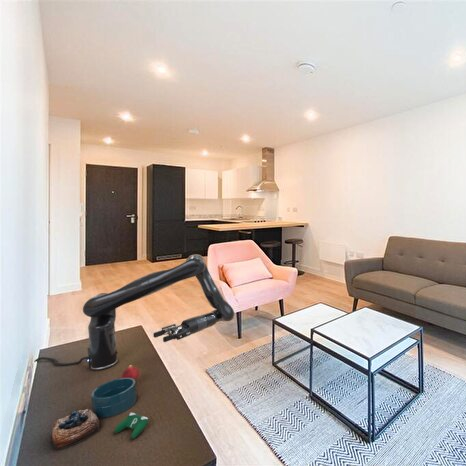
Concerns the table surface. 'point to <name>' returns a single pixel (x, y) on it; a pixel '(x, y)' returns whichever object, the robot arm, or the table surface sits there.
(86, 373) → the table surface
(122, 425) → the gaming controller
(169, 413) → the table surface
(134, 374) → the onion
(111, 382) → the pot
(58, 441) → the pastry
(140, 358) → the table surface
